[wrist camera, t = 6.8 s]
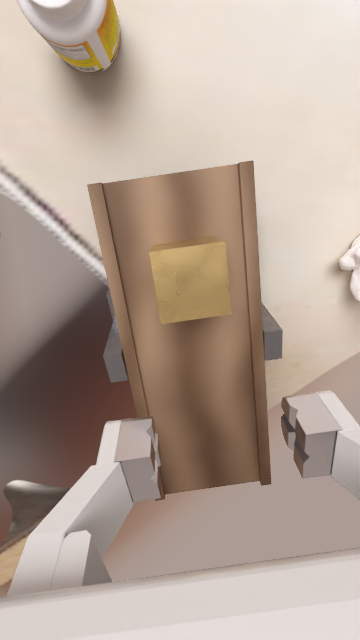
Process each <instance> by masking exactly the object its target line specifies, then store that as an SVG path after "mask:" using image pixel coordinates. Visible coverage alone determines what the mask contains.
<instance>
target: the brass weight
mask: <svg viewBox="0 0 360 640" xmlns="http://www.w3.org/2000/svg"><path fill="white" fill-rule="evenodd" d="M149 255H150V261H151V267H152V273H153V280H154V286H155V292H156V298H157V304H158V310H159V316H160V322H161V324H167V323H173V322H180V321H187V320H194V319H201V318H208V317H215V316H222V315H229V314H232V312H231V301H230V289H229V278H228V267H227V255H226V244H225V241H223V240H221V239H218V238H215V237H212V236H209V237H202V238H195V239H188V240H181V241H174V242H167V243H160V244H153V246H152V248H151V249H150V251H149Z"/></svg>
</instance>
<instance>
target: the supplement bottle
mask: <svg viewBox="0 0 360 640" xmlns="http://www.w3.org/2000/svg"><path fill="white" fill-rule="evenodd" d="M17 2H18V4H19V6H20V8H21V10H22V12H23V14H24V15H25V17H26V18H27V20H28V21H29V22H30V24H31V25H32V26H33V27H34V28H35V30H36V31H37V32H38V33H39V34H40V35H41V36H42V37H43V38H44V39H45V40H46V41H47V43H48V44H49V45H50V46H51V47H52V48H53V49H54V50H55V51H56V52H57V53H58V54H59V56H60V57H61V58H62V59H63V60H64V61H65V62H66V63H67V64H68V65H69V66H71V67H72V68H74V69H75V70H77V71H79V72H82V73H86V74H96V73H99V72H102V71H104V70H105V69H107V68H108V67H109V66H110V65H111V64H112V63H113V61H114V59H115V58H116V56H117V53H118V50H119V46H120V38H121V33H120V24H119V19H118V16H117V12H116V9H115V5H114V2H113V0H17Z"/></svg>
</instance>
